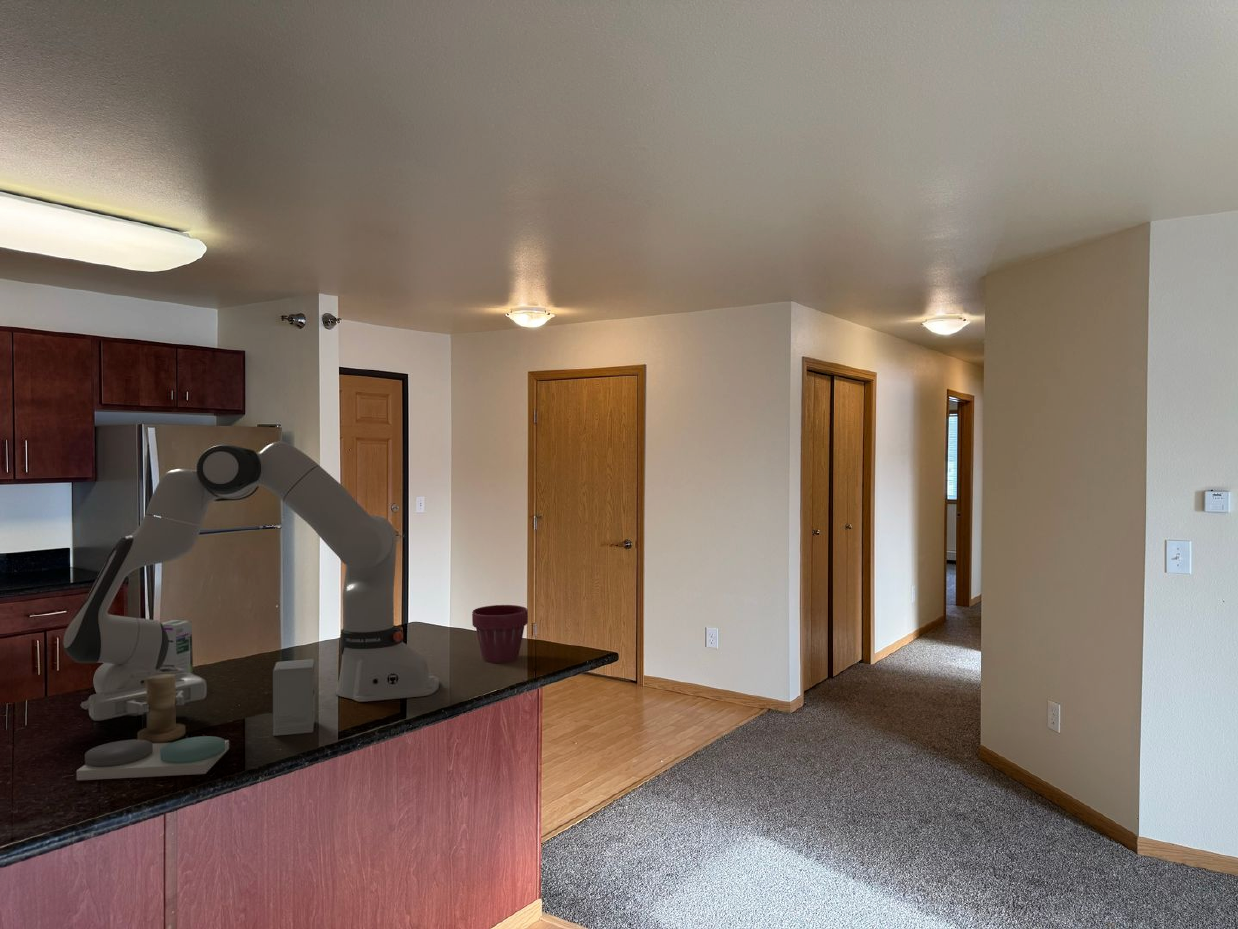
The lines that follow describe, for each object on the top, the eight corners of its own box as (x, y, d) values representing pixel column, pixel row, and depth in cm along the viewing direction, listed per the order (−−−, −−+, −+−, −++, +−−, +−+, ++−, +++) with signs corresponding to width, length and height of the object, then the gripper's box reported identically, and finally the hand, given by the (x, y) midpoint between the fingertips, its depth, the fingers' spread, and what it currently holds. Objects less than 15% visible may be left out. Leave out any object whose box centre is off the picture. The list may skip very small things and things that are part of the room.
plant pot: (484, 668, 208) (483, 617, 208) (464, 656, 221) (464, 608, 220) (536, 661, 216) (536, 611, 215) (515, 650, 228) (515, 602, 228)
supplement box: (313, 733, 161) (313, 667, 161) (272, 736, 159) (271, 670, 159) (316, 721, 168) (315, 658, 168) (276, 724, 166) (275, 661, 166)
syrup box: (176, 688, 192) (175, 625, 192) (153, 687, 193) (153, 624, 193) (193, 681, 198) (193, 620, 198) (171, 680, 199) (171, 619, 199)
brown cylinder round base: (191, 728, 164) (191, 671, 164) (175, 742, 156) (174, 682, 156) (148, 730, 163) (147, 672, 163) (129, 744, 155) (128, 684, 155)
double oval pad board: (234, 748, 153) (234, 733, 153) (211, 773, 141) (211, 756, 141) (105, 754, 150) (104, 739, 150) (70, 780, 138) (69, 763, 138)
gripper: (77, 686, 161) (100, 701, 151) (190, 666, 176) (217, 678, 166) (77, 719, 161) (100, 736, 151) (190, 696, 176) (217, 710, 166)
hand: (162, 705), depth 159 cm, fingers closed on brown cylinder round base, 5 cm apart
